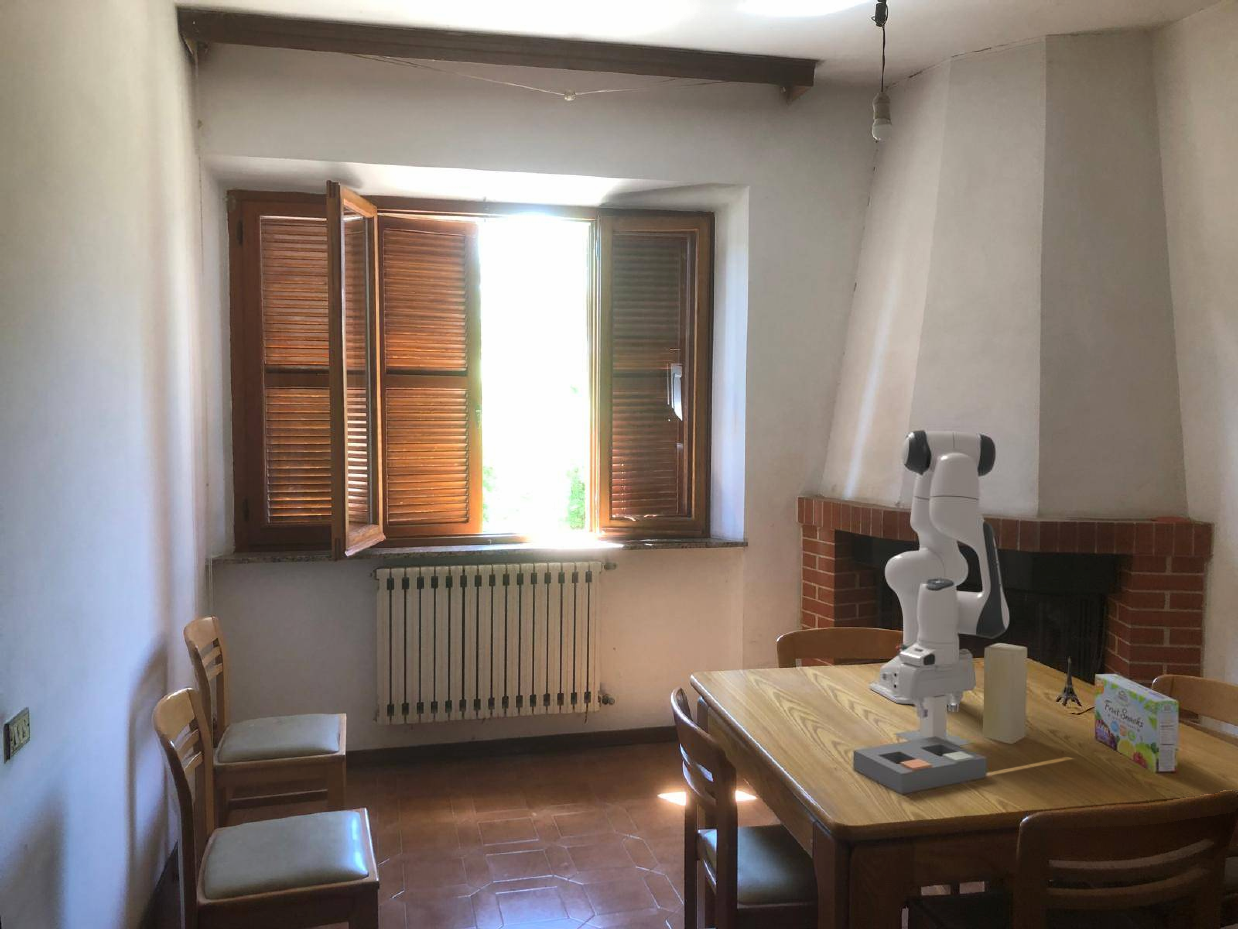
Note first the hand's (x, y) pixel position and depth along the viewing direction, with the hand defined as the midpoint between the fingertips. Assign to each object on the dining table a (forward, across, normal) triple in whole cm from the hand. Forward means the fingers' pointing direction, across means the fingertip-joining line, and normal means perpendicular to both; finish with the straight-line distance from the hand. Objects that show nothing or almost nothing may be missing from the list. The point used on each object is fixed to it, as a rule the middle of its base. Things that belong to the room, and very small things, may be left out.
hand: (938, 714), depth 204 cm
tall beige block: (+7, -16, +4) cm, 17 cm away
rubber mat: (+6, 0, -1) cm, 6 cm away
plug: (+6, 0, -1) cm, 6 cm away
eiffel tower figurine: (+7, -53, -7) cm, 54 cm away
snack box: (+7, -33, +24) cm, 41 cm away
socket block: (+7, +18, +12) cm, 23 cm away
